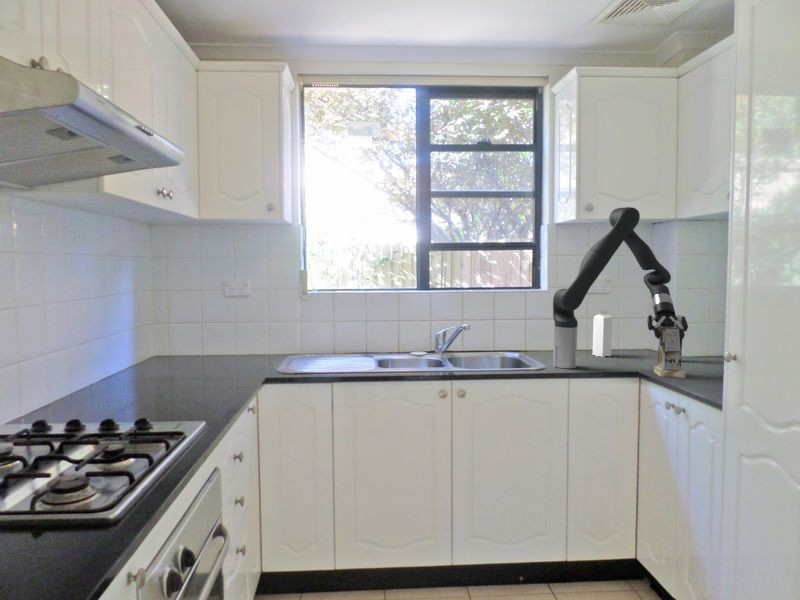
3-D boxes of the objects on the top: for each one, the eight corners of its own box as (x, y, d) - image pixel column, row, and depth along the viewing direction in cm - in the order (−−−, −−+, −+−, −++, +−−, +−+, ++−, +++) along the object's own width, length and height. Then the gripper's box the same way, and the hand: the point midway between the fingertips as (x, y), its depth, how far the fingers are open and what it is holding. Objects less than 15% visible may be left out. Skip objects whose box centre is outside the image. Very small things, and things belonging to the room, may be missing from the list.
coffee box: (681, 370, 197) (683, 328, 196) (663, 369, 198) (665, 328, 197) (674, 365, 206) (675, 326, 205) (656, 365, 207) (658, 325, 206)
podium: (660, 376, 199) (660, 369, 199) (654, 371, 207) (654, 365, 207) (685, 377, 197) (685, 370, 197) (678, 372, 206) (678, 366, 205)
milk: (592, 355, 245) (593, 309, 244) (601, 354, 248) (602, 309, 247) (602, 357, 240) (603, 310, 239) (611, 356, 243) (612, 310, 242)
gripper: (646, 300, 211) (652, 331, 201) (684, 301, 208) (692, 332, 197) (643, 312, 216) (648, 342, 206) (679, 313, 213) (687, 344, 203)
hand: (670, 337), depth 202 cm, fingers open, 8 cm apart
